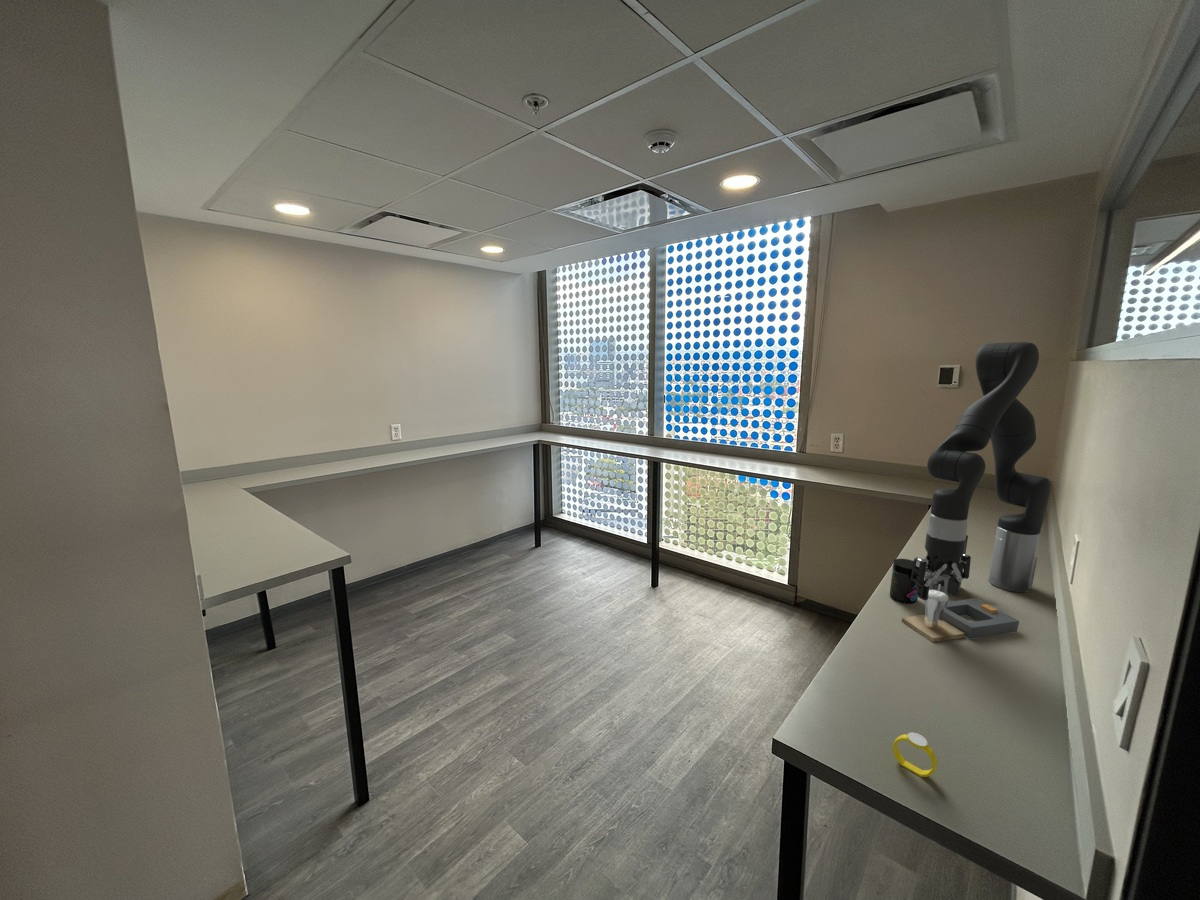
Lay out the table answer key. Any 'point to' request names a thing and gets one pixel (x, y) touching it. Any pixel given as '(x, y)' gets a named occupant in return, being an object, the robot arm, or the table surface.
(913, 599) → the supplement container
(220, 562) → the table surface
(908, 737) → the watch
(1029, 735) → the table surface
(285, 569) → the table surface
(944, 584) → the coffee box
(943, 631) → the cork pad
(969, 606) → the gray window plate
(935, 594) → the milkshake
